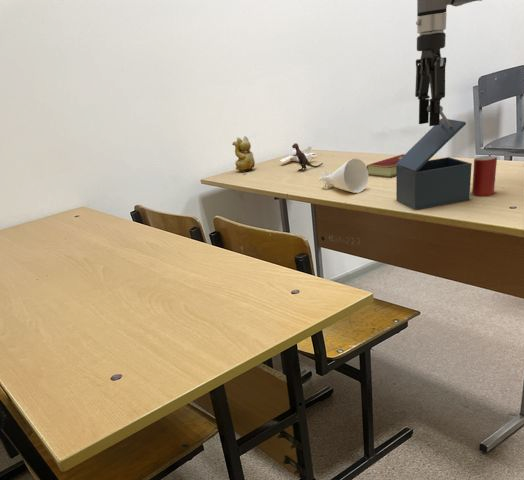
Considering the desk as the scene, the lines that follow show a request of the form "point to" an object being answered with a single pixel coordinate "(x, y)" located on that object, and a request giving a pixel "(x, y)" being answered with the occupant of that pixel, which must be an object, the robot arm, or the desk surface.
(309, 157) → the airplane model
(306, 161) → the dinosaur model
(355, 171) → the rocket engine
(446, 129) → the lid
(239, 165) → the decorative figurine
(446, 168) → the chest
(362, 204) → the desk surface
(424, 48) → the robot arm
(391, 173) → the hardcover book
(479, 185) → the can
